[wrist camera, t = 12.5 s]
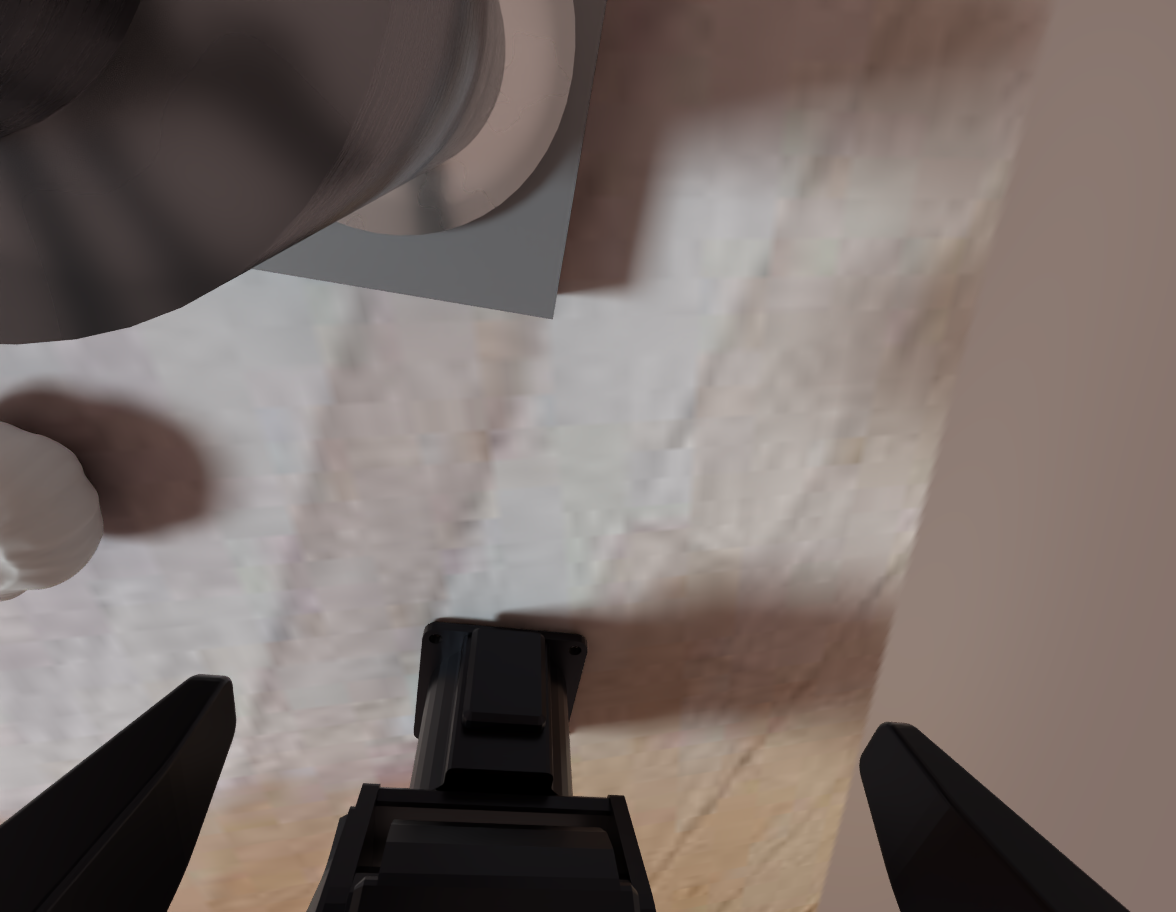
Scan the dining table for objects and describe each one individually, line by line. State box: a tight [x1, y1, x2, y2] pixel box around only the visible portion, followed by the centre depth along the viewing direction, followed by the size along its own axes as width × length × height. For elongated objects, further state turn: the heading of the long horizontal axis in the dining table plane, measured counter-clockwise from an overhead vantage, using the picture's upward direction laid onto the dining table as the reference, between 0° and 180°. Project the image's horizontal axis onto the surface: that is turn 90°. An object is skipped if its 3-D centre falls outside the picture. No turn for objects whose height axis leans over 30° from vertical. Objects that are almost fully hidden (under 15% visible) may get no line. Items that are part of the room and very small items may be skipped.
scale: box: [252, 0, 607, 319], centre depth 12 cm, size 11×11×7 cm
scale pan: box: [337, 0, 575, 235], centre depth 13 cm, size 8×8×1 cm
